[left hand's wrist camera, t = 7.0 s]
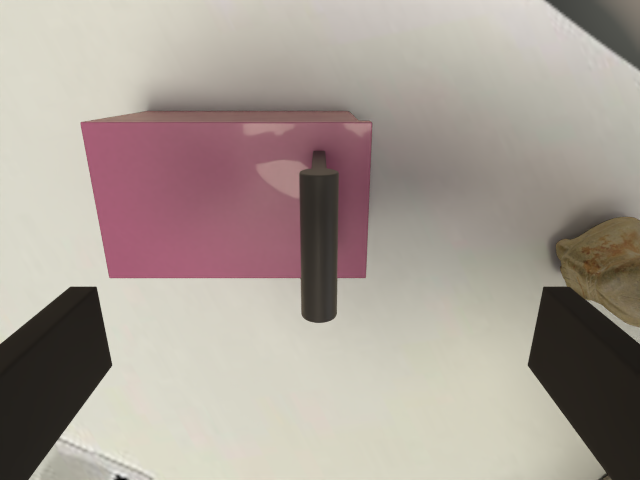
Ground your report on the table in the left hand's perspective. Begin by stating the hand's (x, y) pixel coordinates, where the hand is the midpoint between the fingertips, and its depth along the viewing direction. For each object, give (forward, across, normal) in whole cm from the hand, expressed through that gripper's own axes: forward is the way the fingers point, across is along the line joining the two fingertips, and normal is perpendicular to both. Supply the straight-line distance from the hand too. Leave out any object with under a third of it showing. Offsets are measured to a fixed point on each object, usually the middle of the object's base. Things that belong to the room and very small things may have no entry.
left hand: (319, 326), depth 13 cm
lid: (+14, +5, 0) cm, 15 cm away
